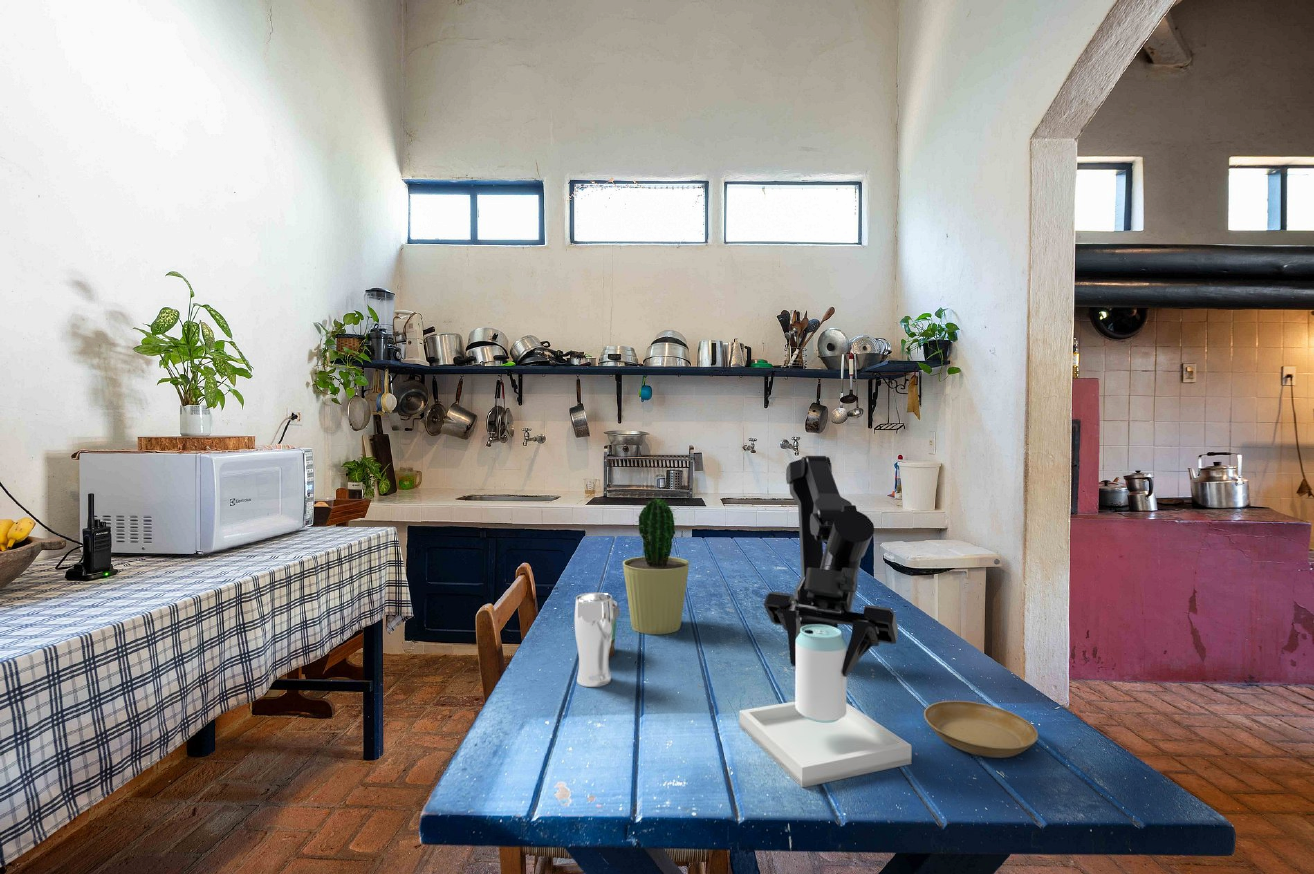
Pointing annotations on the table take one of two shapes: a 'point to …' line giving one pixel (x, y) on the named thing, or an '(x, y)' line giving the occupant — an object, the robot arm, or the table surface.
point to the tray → (823, 743)
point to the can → (820, 673)
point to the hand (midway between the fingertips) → (817, 669)
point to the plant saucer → (980, 728)
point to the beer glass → (593, 637)
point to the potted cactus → (656, 574)
